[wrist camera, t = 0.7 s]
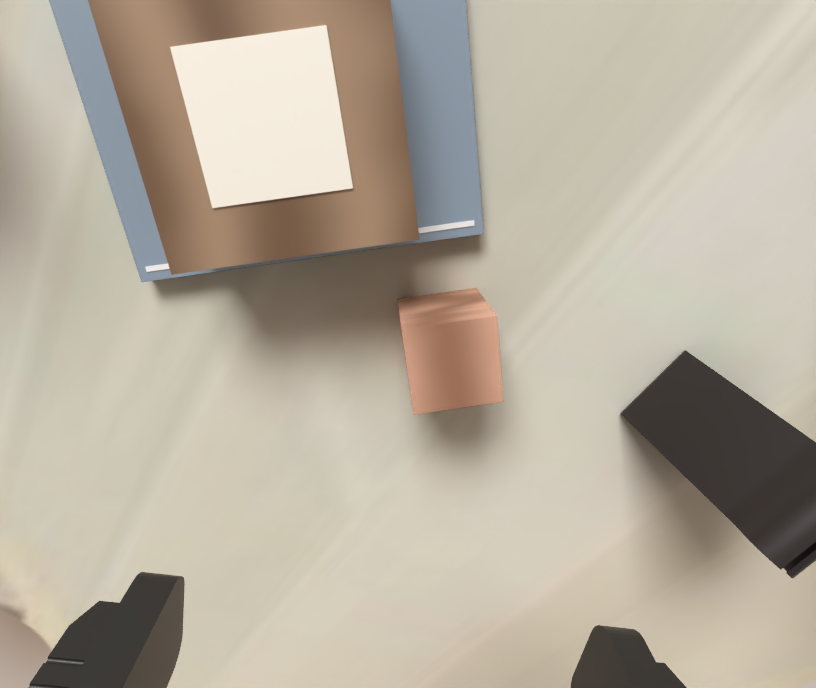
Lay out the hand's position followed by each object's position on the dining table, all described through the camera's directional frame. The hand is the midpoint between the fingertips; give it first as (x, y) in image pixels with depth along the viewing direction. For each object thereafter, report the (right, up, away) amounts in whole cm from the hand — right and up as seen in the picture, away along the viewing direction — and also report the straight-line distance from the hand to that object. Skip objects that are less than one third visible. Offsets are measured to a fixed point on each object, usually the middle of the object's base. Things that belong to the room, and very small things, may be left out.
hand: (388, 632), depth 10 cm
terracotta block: (+2, +6, +23) cm, 24 cm away
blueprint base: (-6, +18, +18) cm, 26 cm away
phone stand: (+20, +1, +26) cm, 33 cm away
